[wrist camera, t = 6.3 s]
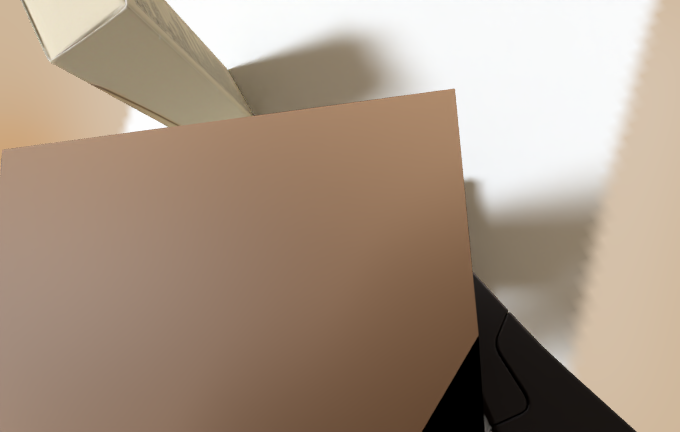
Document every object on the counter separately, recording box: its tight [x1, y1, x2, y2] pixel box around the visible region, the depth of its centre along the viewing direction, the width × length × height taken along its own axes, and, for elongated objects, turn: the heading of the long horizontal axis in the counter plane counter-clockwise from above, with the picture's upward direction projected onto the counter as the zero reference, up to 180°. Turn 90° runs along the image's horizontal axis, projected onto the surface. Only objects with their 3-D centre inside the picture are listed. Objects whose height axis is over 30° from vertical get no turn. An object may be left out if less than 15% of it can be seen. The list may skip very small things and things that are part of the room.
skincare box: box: [21, 0, 253, 127], centre depth 18 cm, size 6×4×12 cm
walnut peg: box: [0, 89, 485, 432], centre depth 9 cm, size 4×4×13 cm
